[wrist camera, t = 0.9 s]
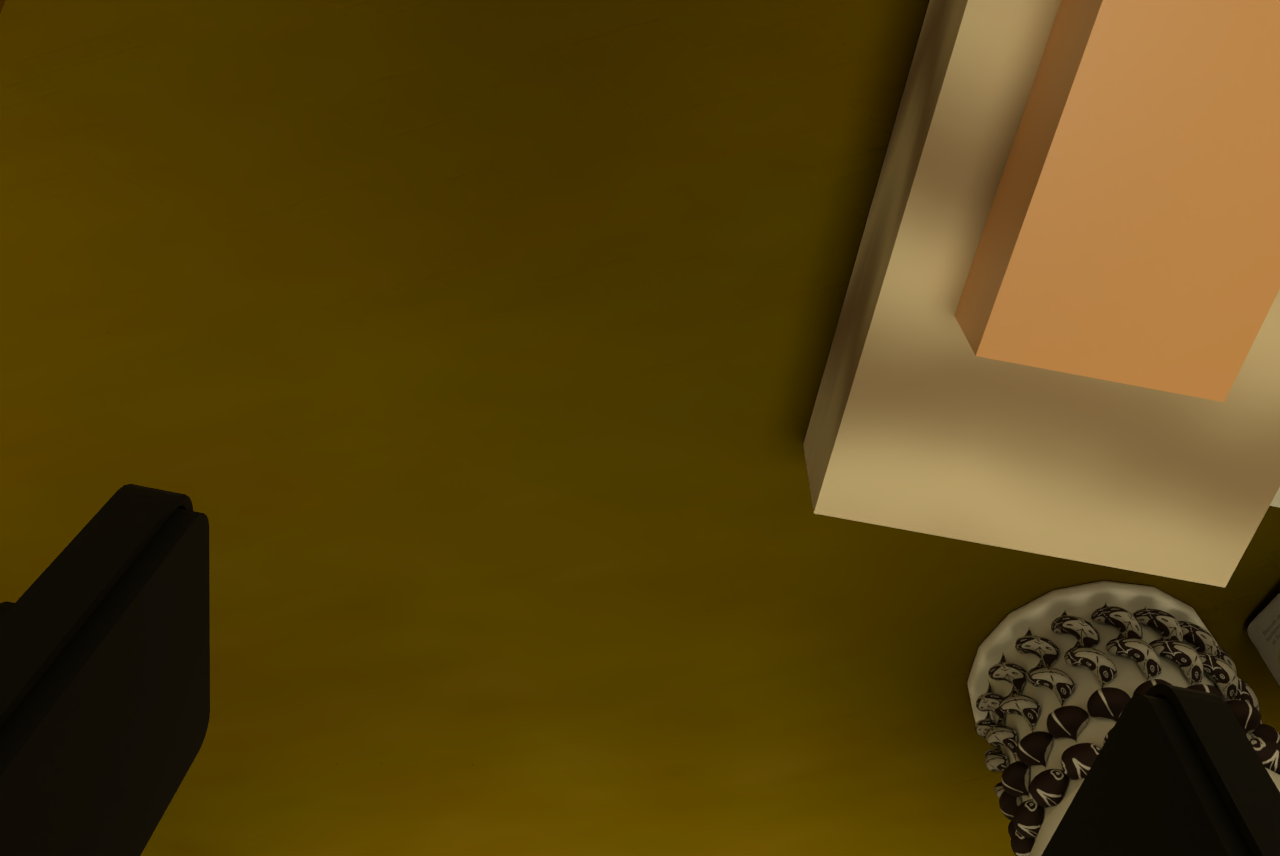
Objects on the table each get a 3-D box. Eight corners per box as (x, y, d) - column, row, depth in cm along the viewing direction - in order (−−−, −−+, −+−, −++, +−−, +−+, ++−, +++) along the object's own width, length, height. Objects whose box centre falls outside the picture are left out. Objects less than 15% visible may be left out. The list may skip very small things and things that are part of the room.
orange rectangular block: (1084, -69, 23) (1124, -60, 21) (1353, -15, 23) (1422, -2, 21) (954, 315, 27) (975, 356, 25) (1183, 358, 27) (1224, 402, 25)
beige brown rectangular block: (1049, -420, 23) (1109, -470, 20) (1576, -310, 24) (1726, -339, 20) (803, 444, 34) (813, 513, 30) (1172, 512, 34) (1225, 587, 31)
